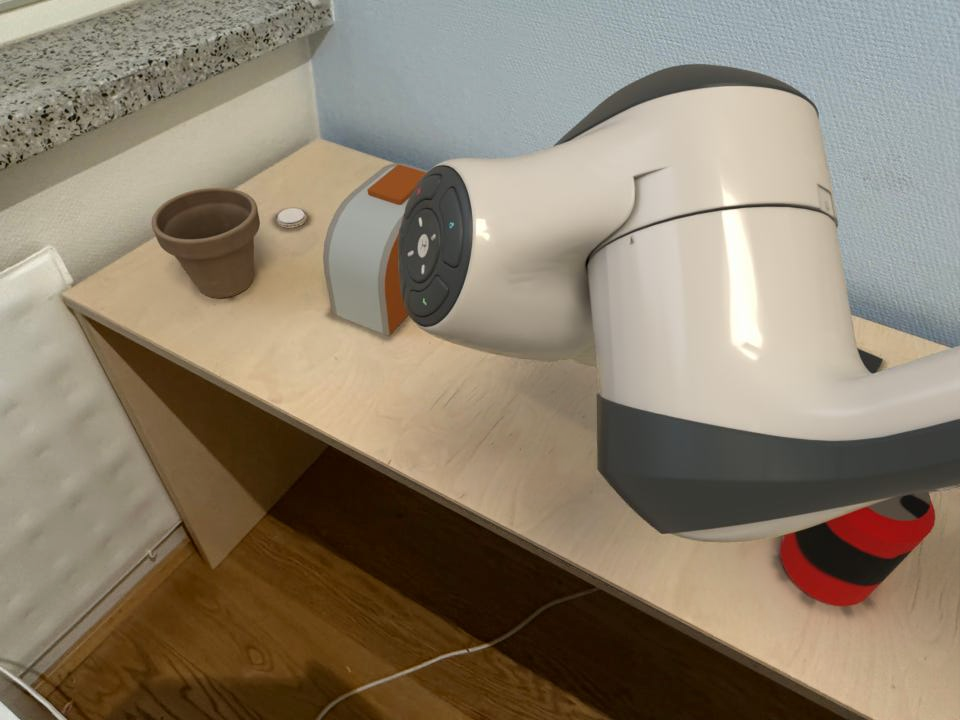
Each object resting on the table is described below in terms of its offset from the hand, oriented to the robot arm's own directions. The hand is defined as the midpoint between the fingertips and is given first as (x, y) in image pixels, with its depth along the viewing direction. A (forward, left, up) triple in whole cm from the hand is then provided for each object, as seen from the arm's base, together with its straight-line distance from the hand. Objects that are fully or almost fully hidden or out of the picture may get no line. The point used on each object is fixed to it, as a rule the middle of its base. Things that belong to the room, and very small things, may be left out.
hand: (744, 322), depth 49 cm
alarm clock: (+40, -4, -21) cm, 45 cm away
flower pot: (+57, +8, -21) cm, 61 cm away
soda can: (-14, 0, -21) cm, 25 cm away
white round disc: (+61, -6, -20) cm, 65 cm away
